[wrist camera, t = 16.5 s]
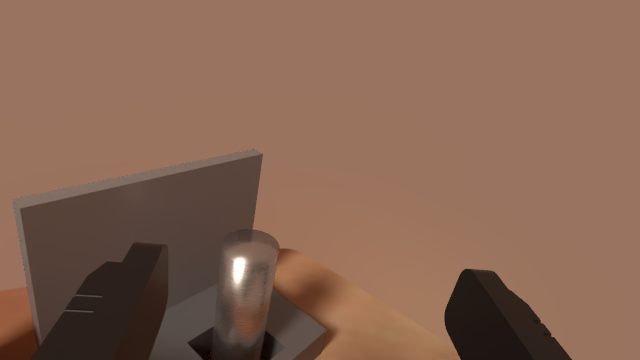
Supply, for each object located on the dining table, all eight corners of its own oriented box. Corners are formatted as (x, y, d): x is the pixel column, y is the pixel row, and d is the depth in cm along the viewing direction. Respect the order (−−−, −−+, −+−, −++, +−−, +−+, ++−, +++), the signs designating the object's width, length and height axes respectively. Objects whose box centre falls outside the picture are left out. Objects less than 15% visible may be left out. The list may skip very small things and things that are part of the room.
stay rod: (267, 372, 32) (290, 249, 27) (230, 403, 29) (248, 271, 24) (237, 343, 34) (253, 223, 29) (199, 370, 31) (209, 241, 26)
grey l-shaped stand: (320, 353, 35) (360, 204, 28) (126, 532, 21) (117, 326, 15) (236, 284, 41) (253, 149, 35) (44, 389, 27) (12, 199, 21)
